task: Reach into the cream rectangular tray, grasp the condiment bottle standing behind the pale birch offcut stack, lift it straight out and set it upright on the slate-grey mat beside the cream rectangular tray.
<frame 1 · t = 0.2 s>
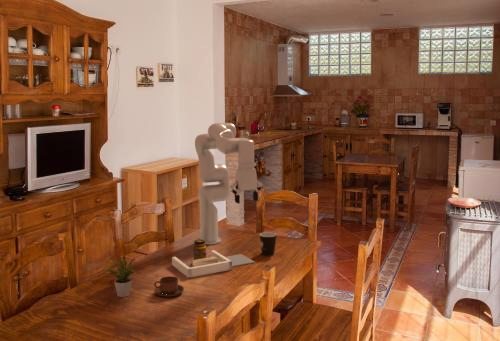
hand: (246, 201, 255), 31 cm above the table, tool pointing down, fingers open, 9 cm apart
condiment: (198, 265, 260), resting in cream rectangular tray
coffee mug: (268, 252, 278), on the table
house plant: (125, 293, 225), on the table
mat: (237, 260, 265), on the table
cup and saucer: (169, 294, 225), on the table
offcuts: (205, 270, 253), resting in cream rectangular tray
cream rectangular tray: (201, 267, 256), on the table
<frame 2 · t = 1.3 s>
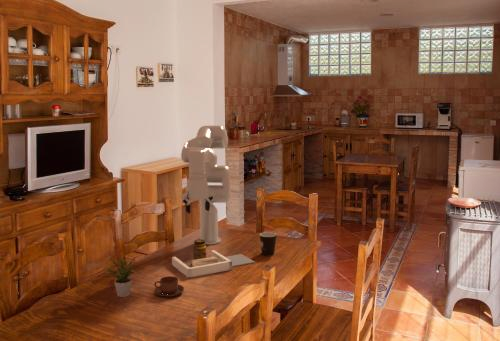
hand: (198, 211, 256), 26 cm above the table, tool pointing down, fingers open, 9 cm apart
nothing on the table moved.
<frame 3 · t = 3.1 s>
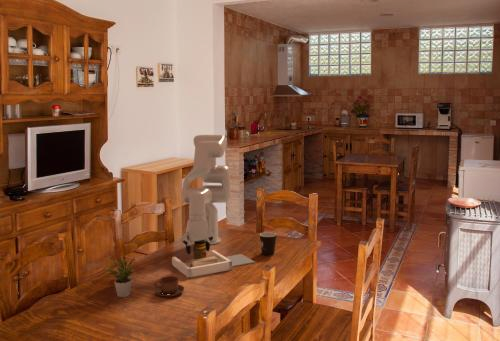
hand: (198, 251, 258), 7 cm above the table, tool pointing down, fingers open, 9 cm apart
nothing on the table moved.
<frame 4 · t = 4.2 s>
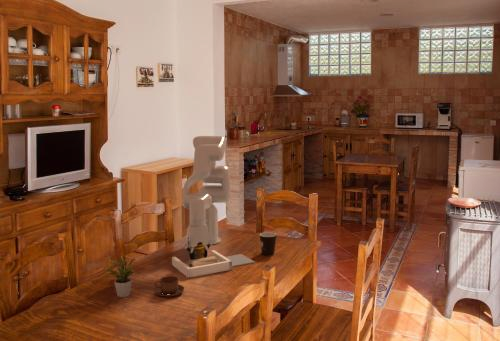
hand: (198, 258, 259), 3 cm above the table, tool pointing down, fingers closed on condiment, 6 cm apart
condiment: (196, 265, 259), resting in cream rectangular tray, touching gripper
everything else where it was.
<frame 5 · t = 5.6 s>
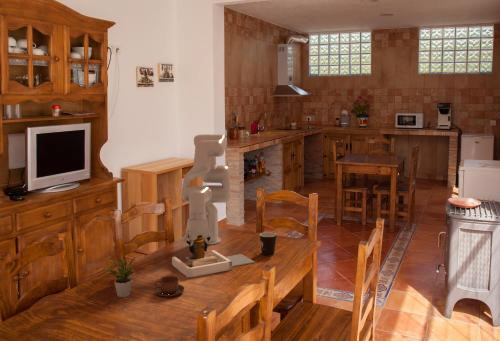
hand: (198, 251, 259), 6 cm above the table, tool pointing down, fingers closed on condiment, 6 cm apart
condiment: (196, 258, 260), point 3 cm above the table, touching gripper
everything else where it was.
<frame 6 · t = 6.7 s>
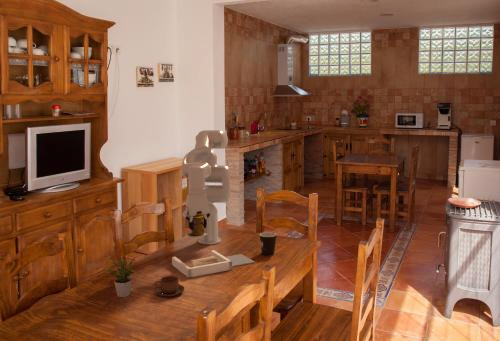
hand: (197, 228, 257), 18 cm above the table, tool pointing down, fingers closed on condiment, 6 cm apart
condiment: (196, 235, 258), point 15 cm above the table, touching gripper
everything else where it was.
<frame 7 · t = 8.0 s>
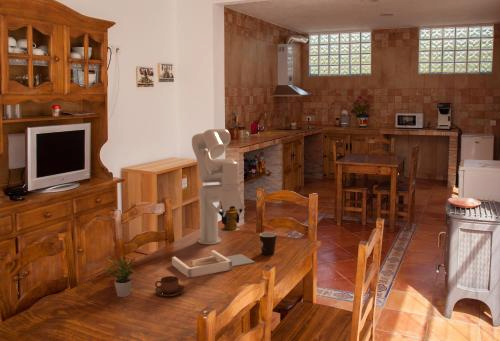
hand: (230, 223, 262), 19 cm above the table, tool pointing down, fingers closed on condiment, 6 cm apart
condiment: (228, 230, 262), point 16 cm above the table, touching gripper
everything else where it was.
when the fingers open (5 cm above the table, at t = 11.9 s): condiment drops 1 cm, resting on mat.
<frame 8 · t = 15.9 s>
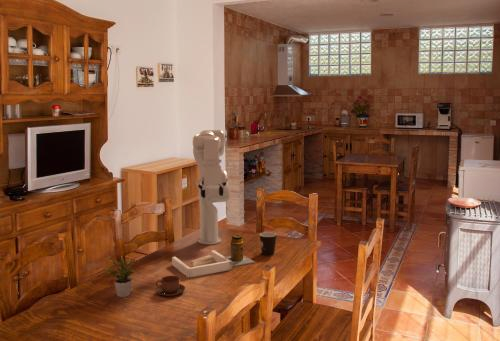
hand: (212, 196, 271), 30 cm above the table, tool pointing down, fingers open, 9 cm apart
condiment: (235, 260, 265), resting on mat
at the end: condiment inside the target area on the mat (0.8 cm from its centre), point 0.4 cm above the mat's base; condiment tilted 0°; offcuts moved 1.9 cm from its start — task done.
